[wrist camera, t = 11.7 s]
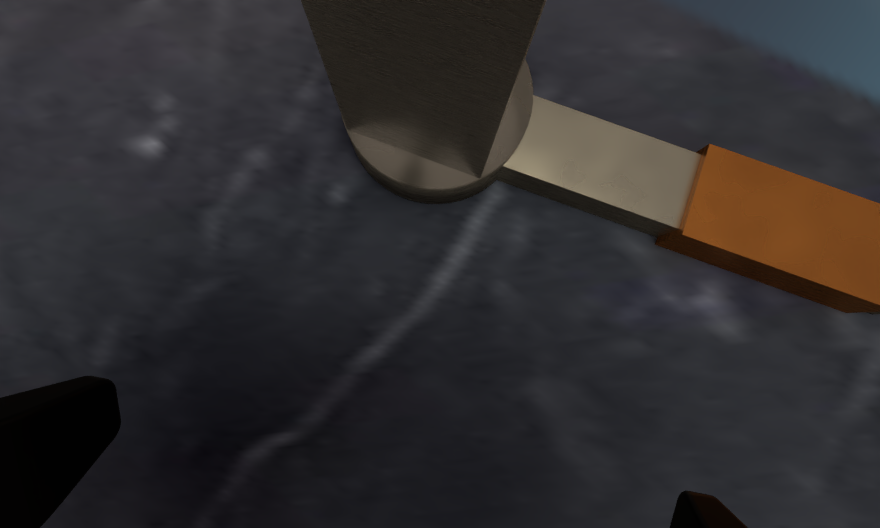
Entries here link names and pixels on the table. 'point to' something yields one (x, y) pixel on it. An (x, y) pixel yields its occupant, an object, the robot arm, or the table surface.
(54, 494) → the robot arm
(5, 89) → the table surface
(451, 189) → the ratchet
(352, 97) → the tall beige block
